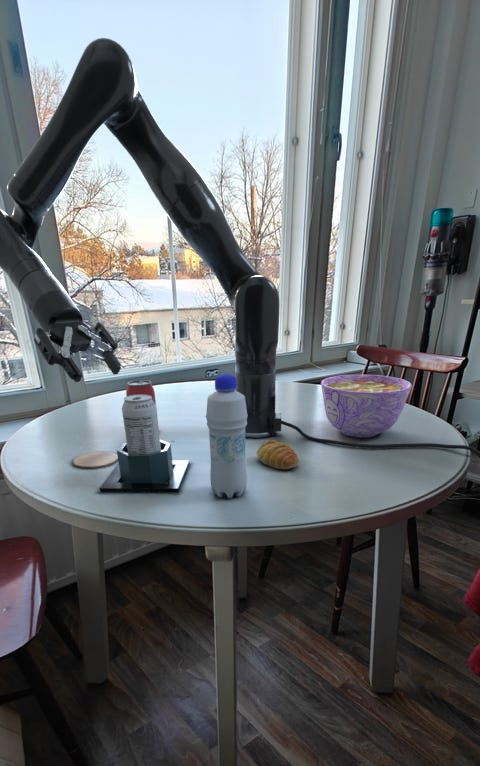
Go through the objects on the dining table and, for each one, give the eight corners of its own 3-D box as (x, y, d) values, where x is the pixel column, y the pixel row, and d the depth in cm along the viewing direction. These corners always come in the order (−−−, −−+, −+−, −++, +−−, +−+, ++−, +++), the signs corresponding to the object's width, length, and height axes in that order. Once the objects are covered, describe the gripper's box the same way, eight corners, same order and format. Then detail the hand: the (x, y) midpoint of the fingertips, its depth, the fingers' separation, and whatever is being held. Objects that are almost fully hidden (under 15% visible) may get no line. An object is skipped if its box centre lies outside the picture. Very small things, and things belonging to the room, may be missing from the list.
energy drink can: (168, 472, 89) (160, 394, 81) (156, 484, 84) (147, 402, 76) (139, 470, 90) (129, 393, 83) (126, 482, 85) (114, 400, 78)
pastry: (307, 467, 90) (308, 448, 88) (279, 474, 87) (279, 455, 85) (279, 453, 97) (279, 436, 95) (252, 460, 94) (252, 442, 92)
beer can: (161, 429, 114) (156, 379, 108) (154, 437, 108) (149, 385, 103) (136, 428, 115) (129, 379, 109) (128, 436, 109) (120, 385, 103)
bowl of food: (308, 440, 104) (311, 388, 99) (327, 418, 120) (331, 372, 115) (399, 450, 98) (408, 395, 92) (407, 424, 114) (414, 376, 108)
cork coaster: (123, 453, 99) (122, 451, 99) (111, 468, 91) (110, 466, 91) (82, 453, 99) (82, 451, 99) (66, 468, 92) (66, 466, 91)
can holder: (189, 464, 93) (187, 435, 90) (178, 492, 80) (175, 460, 77) (121, 463, 93) (117, 435, 90) (100, 492, 81) (94, 460, 78)
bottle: (209, 486, 83) (203, 371, 73) (246, 484, 83) (245, 369, 73) (210, 502, 77) (204, 379, 67) (250, 500, 77) (249, 378, 68)
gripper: (18, 289, 77) (71, 367, 76) (89, 287, 87) (137, 356, 86) (10, 323, 82) (60, 395, 82) (77, 317, 92) (122, 381, 91)
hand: (99, 375), depth 84 cm, fingers open, 8 cm apart
